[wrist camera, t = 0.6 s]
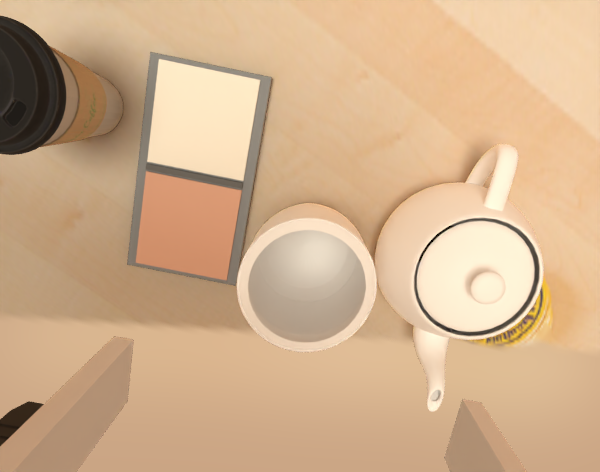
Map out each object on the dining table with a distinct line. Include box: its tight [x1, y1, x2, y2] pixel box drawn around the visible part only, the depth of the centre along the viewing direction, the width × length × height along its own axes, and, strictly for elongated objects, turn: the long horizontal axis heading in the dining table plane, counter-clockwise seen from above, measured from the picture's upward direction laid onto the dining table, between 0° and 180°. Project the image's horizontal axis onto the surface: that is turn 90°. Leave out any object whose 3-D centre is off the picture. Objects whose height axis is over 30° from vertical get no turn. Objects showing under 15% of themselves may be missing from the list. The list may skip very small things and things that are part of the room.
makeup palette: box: [127, 52, 272, 285], centre depth 42 cm, size 12×22×2 cm, turn 169°
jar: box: [237, 203, 377, 352], centre depth 37 cm, size 11×10×15 cm
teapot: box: [375, 144, 544, 412], centre depth 39 cm, size 25×16×12 cm, turn 167°
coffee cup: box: [0, 16, 123, 155], centre depth 34 cm, size 9×9×15 cm
